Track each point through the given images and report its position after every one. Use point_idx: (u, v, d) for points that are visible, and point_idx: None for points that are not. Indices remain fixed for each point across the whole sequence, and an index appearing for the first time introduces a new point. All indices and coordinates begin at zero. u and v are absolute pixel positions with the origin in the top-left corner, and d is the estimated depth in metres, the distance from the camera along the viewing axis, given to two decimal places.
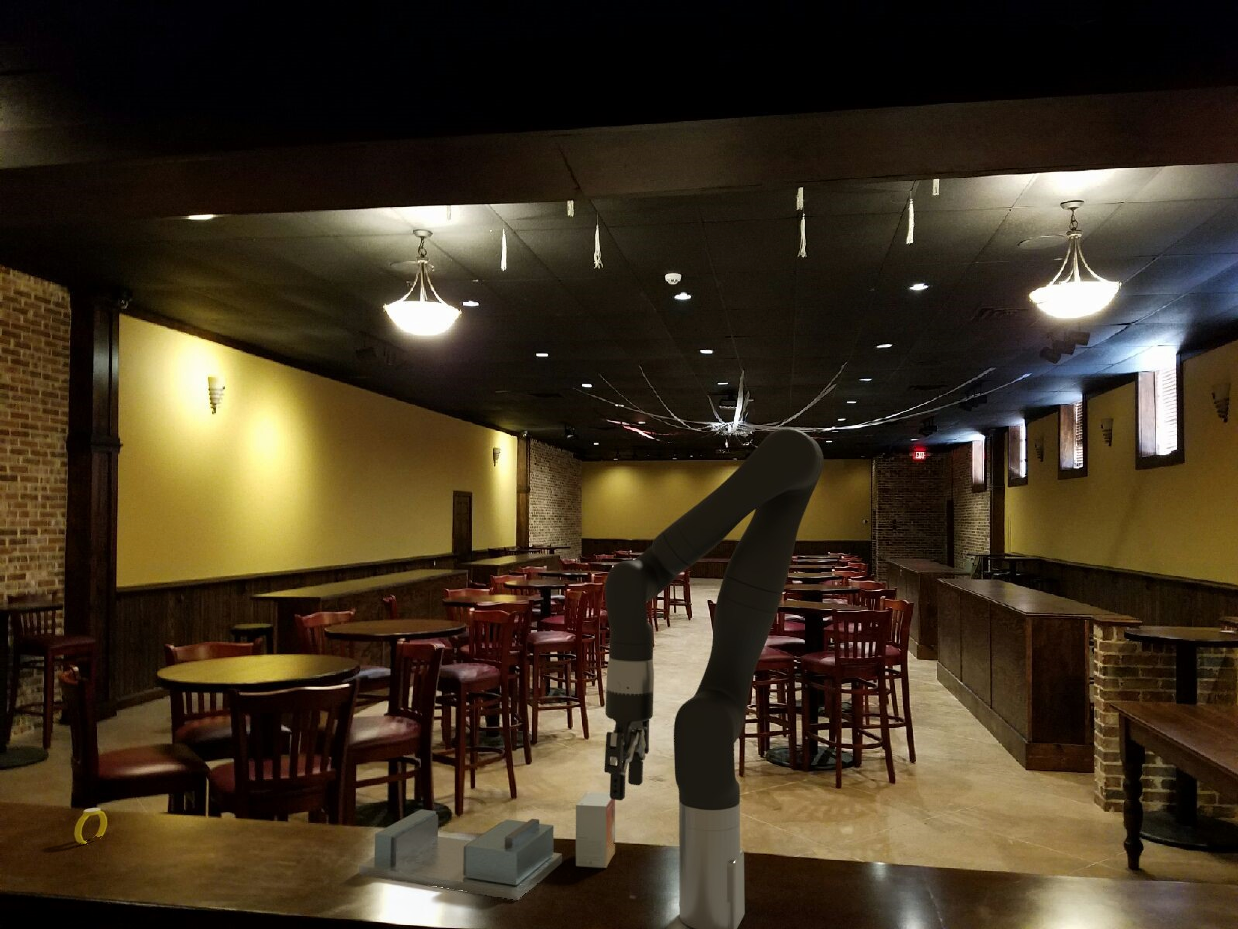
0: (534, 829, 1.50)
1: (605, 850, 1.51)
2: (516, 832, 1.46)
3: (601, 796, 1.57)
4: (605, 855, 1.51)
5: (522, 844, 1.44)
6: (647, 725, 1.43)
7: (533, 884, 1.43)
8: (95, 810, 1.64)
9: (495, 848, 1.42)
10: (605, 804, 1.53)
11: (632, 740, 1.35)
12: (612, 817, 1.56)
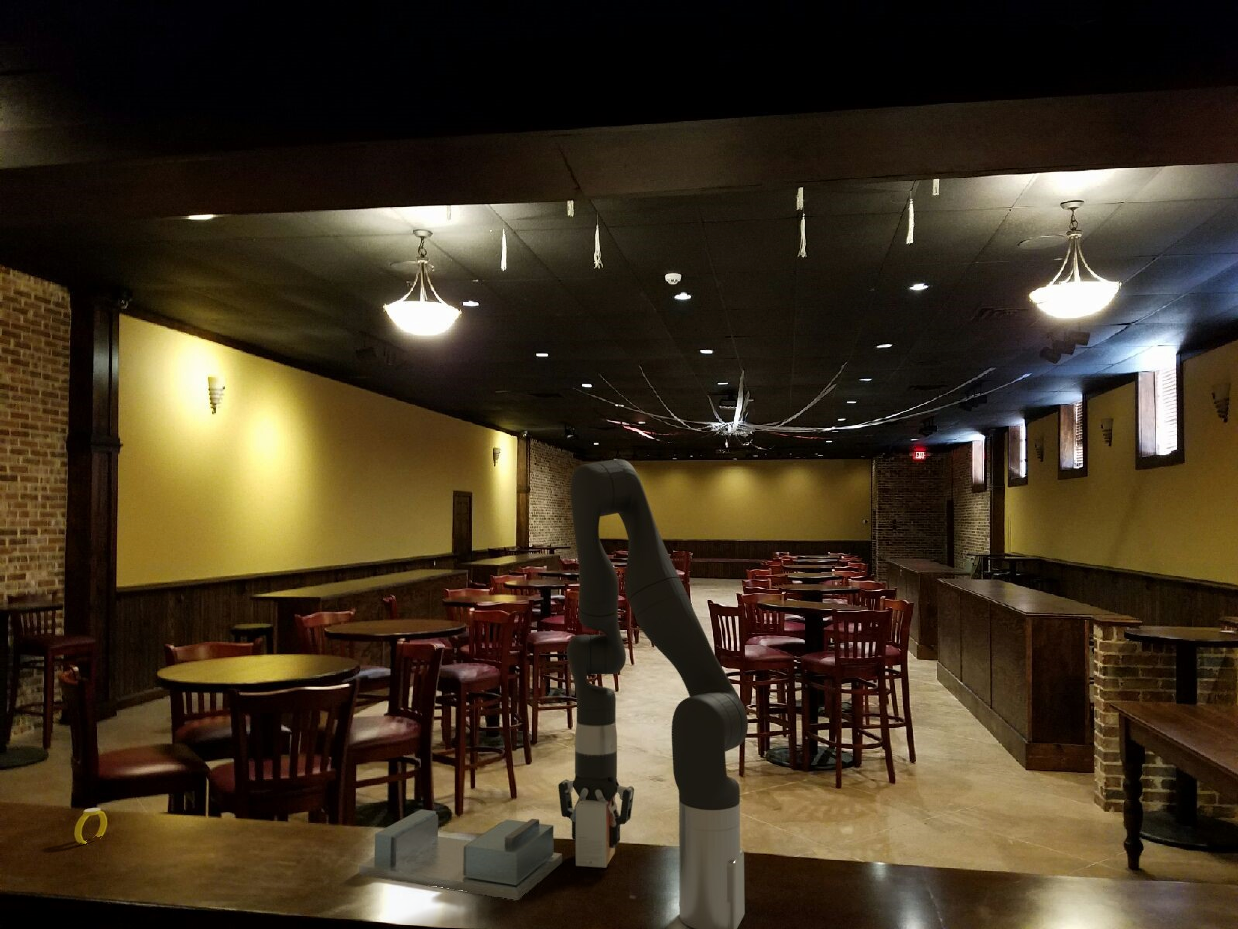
0: (534, 829, 1.50)
1: (605, 850, 1.51)
2: (516, 832, 1.46)
3: None
4: (605, 855, 1.51)
5: (522, 844, 1.44)
6: None
7: (533, 884, 1.43)
8: (95, 810, 1.64)
9: (495, 848, 1.42)
10: (605, 804, 1.53)
11: None
12: None
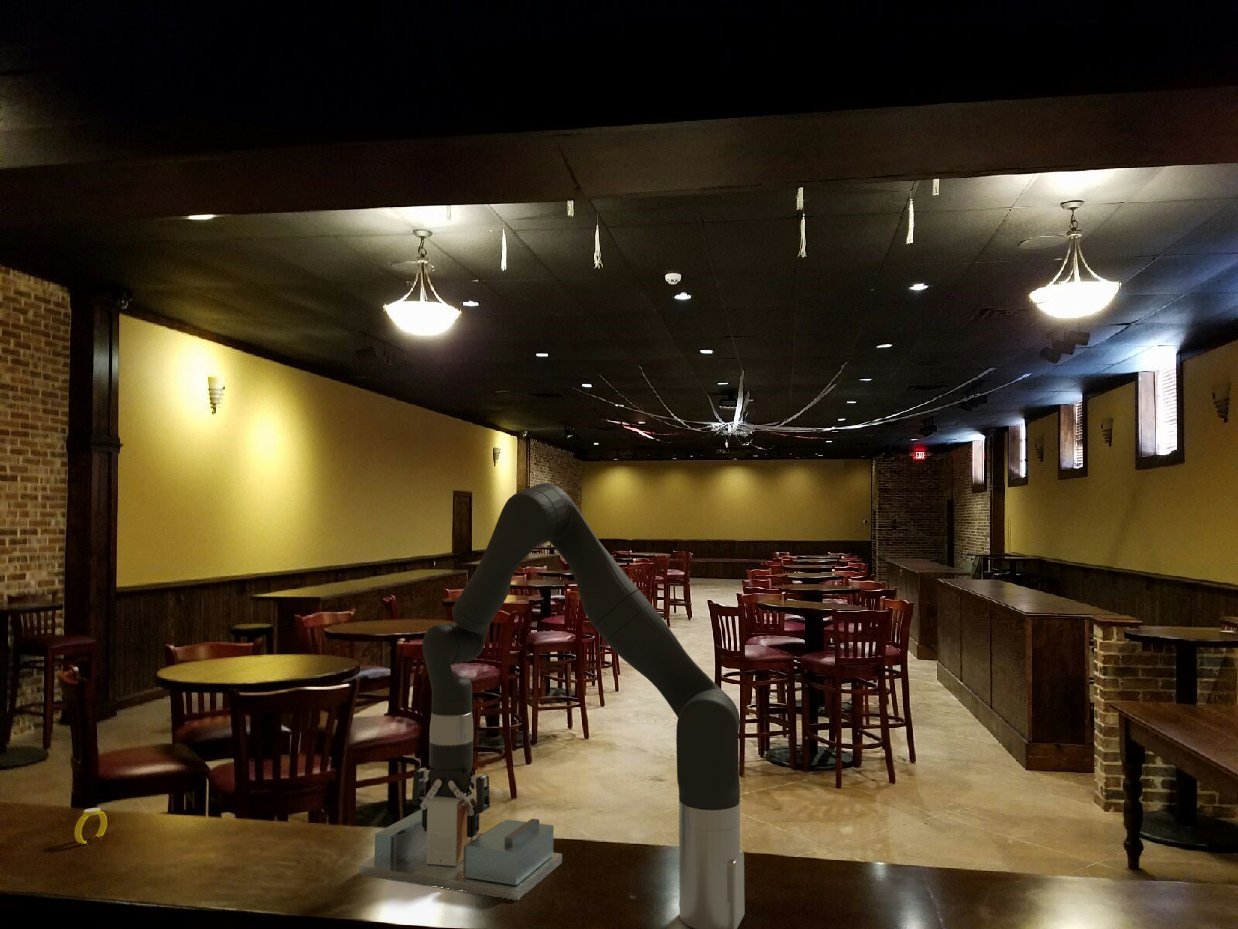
0: (534, 829, 1.50)
1: (455, 848, 1.48)
2: (516, 832, 1.46)
3: None
4: (455, 853, 1.48)
5: (522, 844, 1.44)
6: None
7: (533, 884, 1.43)
8: (95, 810, 1.64)
9: (495, 848, 1.42)
10: (457, 801, 1.50)
11: None
12: (468, 814, 1.53)
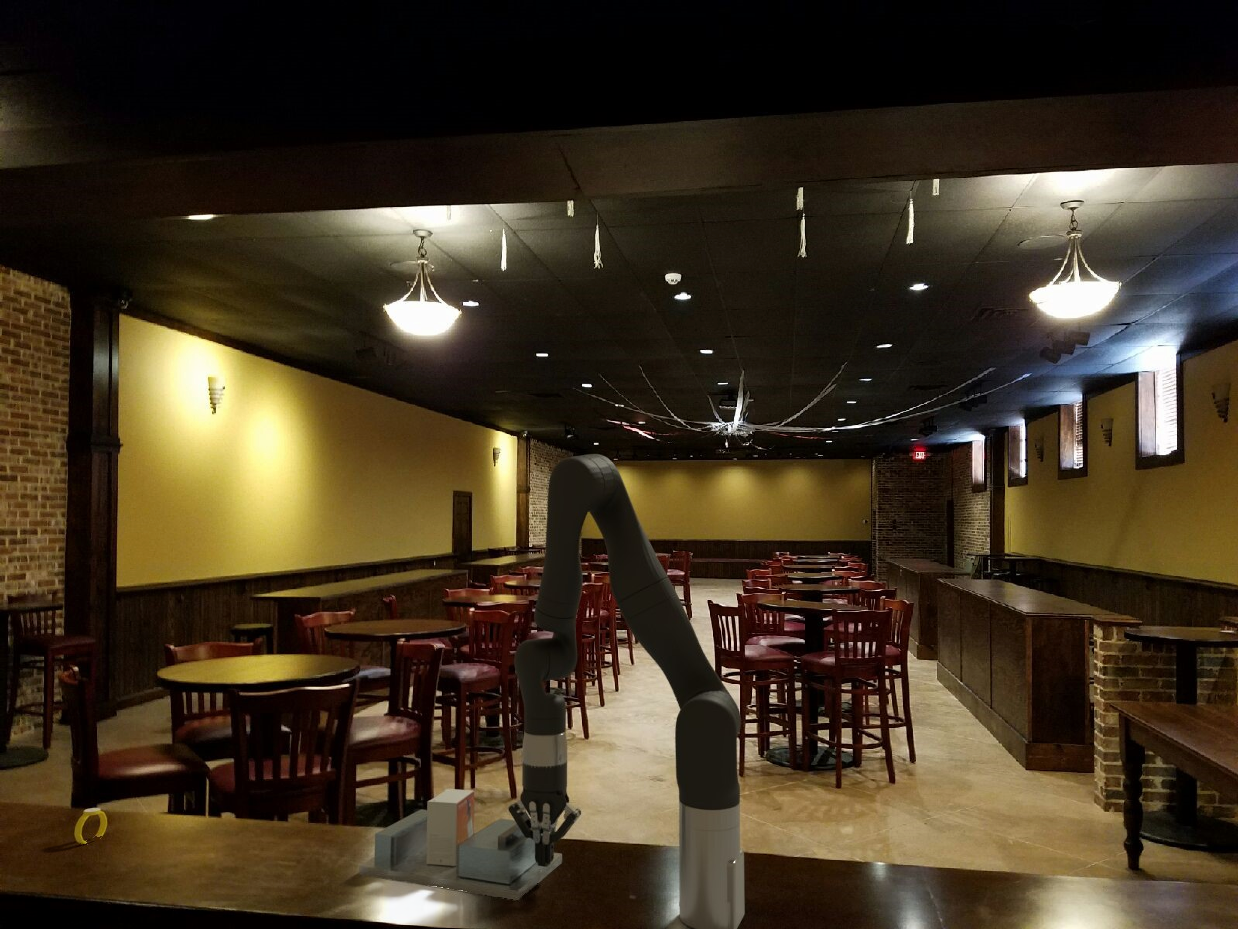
0: None
1: (455, 848, 1.48)
2: (509, 831, 1.46)
3: (458, 793, 1.54)
4: (455, 853, 1.48)
5: (515, 843, 1.44)
6: None
7: (533, 884, 1.43)
8: (95, 810, 1.64)
9: (488, 847, 1.43)
10: (457, 801, 1.50)
11: None
12: (468, 814, 1.53)
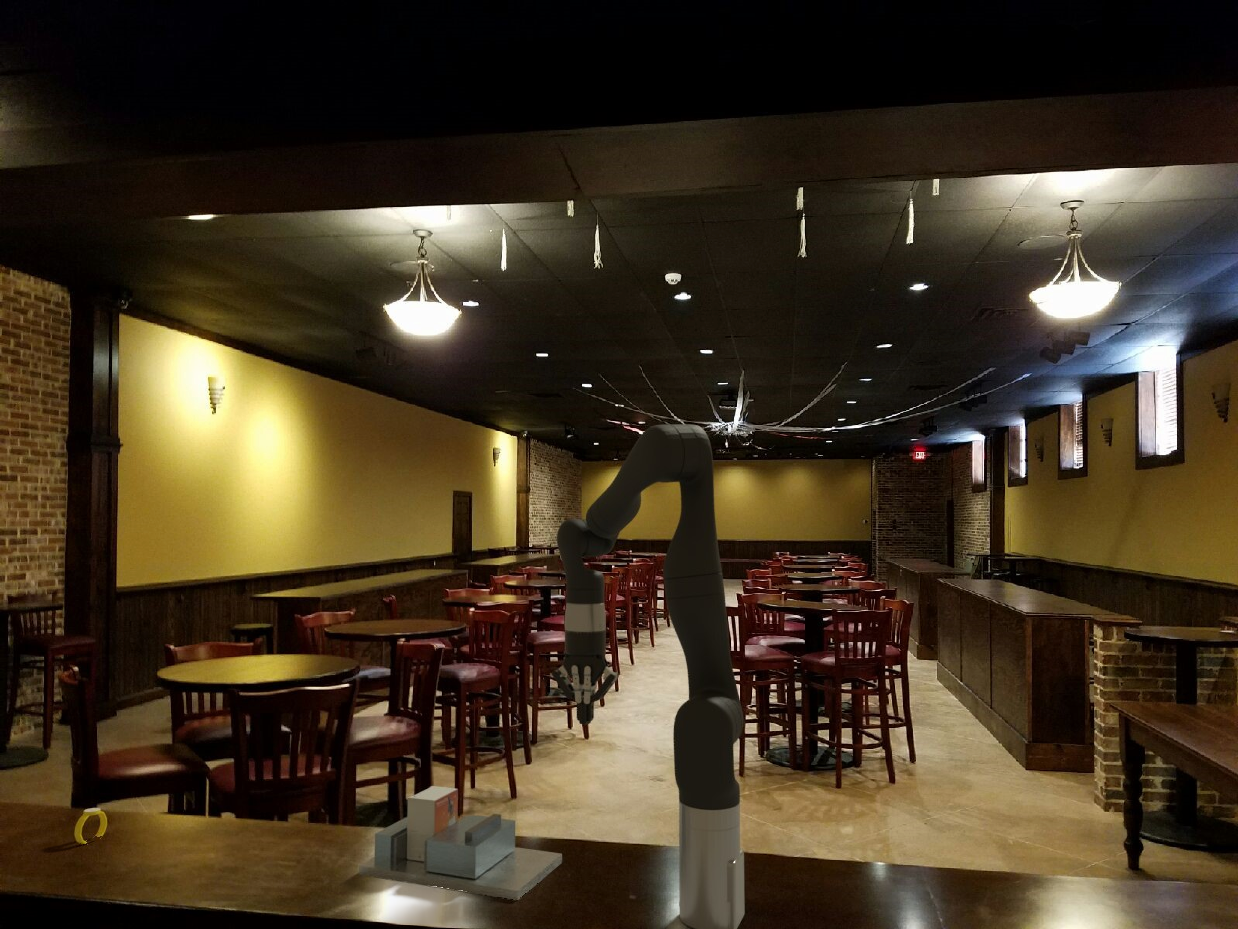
0: (495, 824, 1.53)
1: None
2: (477, 826, 1.48)
3: (441, 790, 1.56)
4: None
5: (482, 838, 1.47)
6: None
7: (533, 884, 1.43)
8: (95, 810, 1.64)
9: (455, 842, 1.45)
10: (436, 798, 1.51)
11: None
12: (449, 812, 1.54)
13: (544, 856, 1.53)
